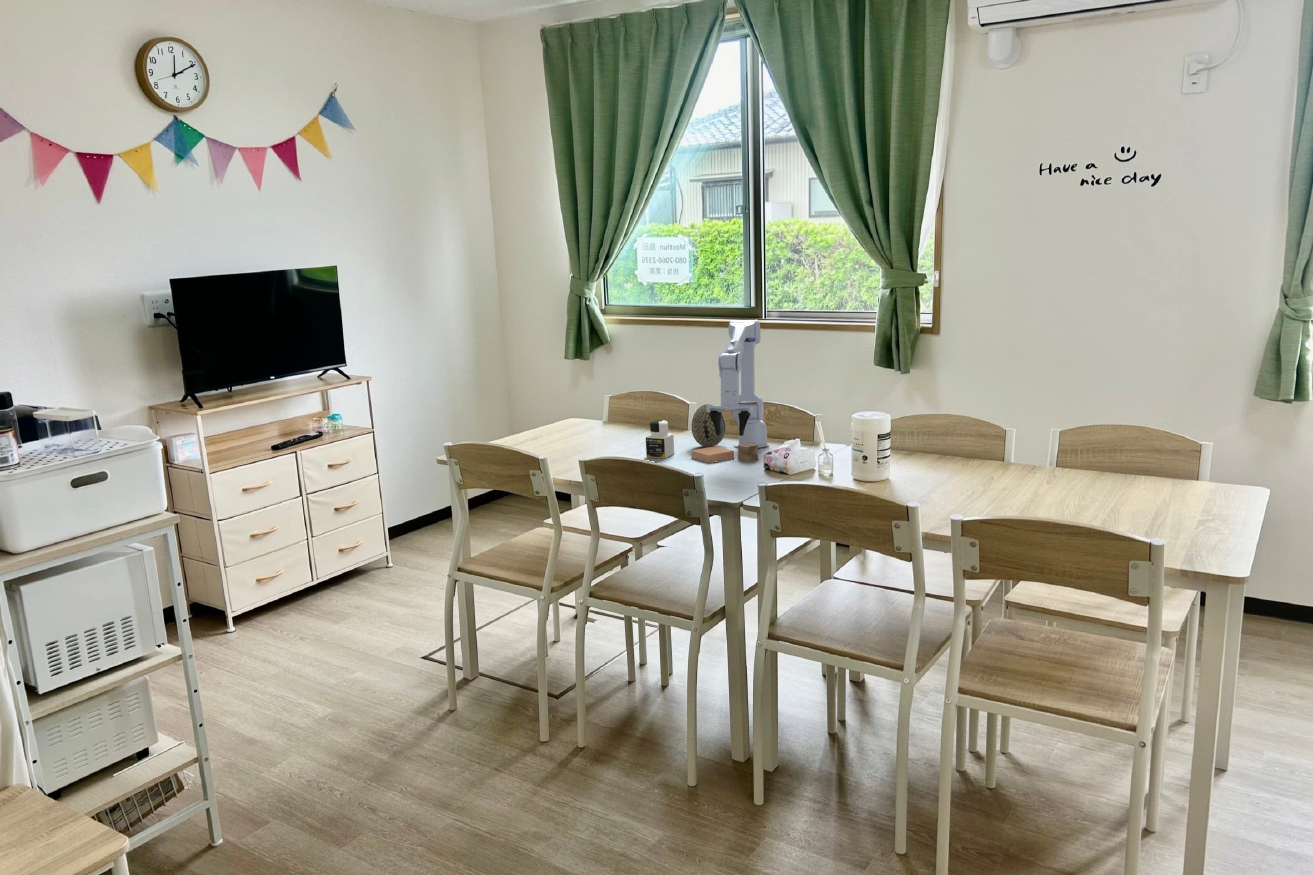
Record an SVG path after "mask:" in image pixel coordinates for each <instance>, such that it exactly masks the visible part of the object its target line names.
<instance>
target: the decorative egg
mask: <svg viewBox="0 0 1313 875" xmlns="http://www.w3.org/2000/svg"><path fill="white" fill-rule="evenodd" d="M707 406H714V405H712V404H710V403H708V404H703V405H701V406H700V407H698V408H697V409H696V411H694V414H693V416H692V420H691V425H690V426H691V434H692V438H694V441H695V442H696V443H697V444H698V445H700V446H701V447H703V448H708V447H713V446H718V445H719V444H720V443H721V442H722V441H723V439H724V436H725V434H726V422H725V419H724V416H723V414H721V423H720V427H721V433H720V435H716V431H715V427H714V424H713V422H712V419H711V418H710V416H709V413H710V412H707Z"/></svg>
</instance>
